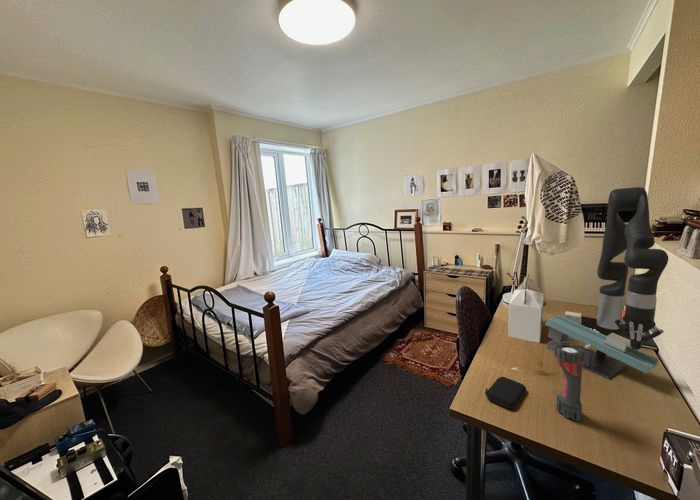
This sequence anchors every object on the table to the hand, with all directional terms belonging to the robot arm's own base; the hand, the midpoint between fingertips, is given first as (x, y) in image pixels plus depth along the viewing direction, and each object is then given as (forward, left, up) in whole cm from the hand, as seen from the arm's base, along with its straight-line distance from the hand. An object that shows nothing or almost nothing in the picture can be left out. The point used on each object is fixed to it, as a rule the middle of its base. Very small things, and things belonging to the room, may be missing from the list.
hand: (635, 348), depth 105 cm
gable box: (-5, -43, -12) cm, 45 cm away
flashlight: (+37, -4, -12) cm, 39 cm away
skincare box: (-15, -27, -12) cm, 33 cm away
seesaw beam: (0, -13, -9) cm, 16 cm away
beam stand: (0, -16, -12) cm, 20 cm away
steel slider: (0, -5, -3) cm, 6 cm away
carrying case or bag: (+46, -19, -13) cm, 51 cm away
